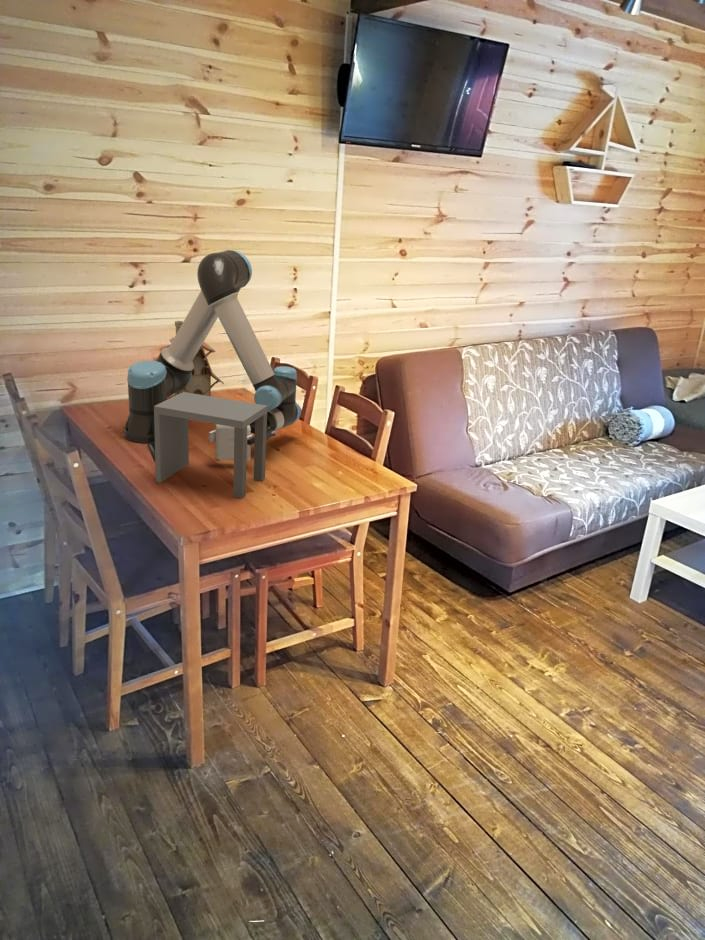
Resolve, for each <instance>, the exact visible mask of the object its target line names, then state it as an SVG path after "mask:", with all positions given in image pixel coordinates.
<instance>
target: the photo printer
mask: <svg viewBox="0 0 705 940" xmlns="http://www.w3.org/2000/svg"><path fill="white" fill-rule="evenodd" d="M215 430H216V440H215V458H216V460H224V461H234V427H230V426H224V425H218V424H215ZM251 434H252V433H251V429H250V425H248V426H247V436H249V435H251ZM250 460H251V445H249V446H247V459H246V462H248V461H250Z"/></svg>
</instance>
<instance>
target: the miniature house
mask: <svg viewBox="0 0 705 940" xmlns="http://www.w3.org/2000/svg"><path fill="white" fill-rule="evenodd" d="M183 322H184V320H174V327H175V335H176V334H177V332H178V331H179V329H180V327H181V325H182V323H183ZM174 338H175V337H173V338H171V339H169V342H170V344H171V343H172V341H173V339H174ZM205 350H206V351H207V353H206V351H205ZM211 353H213V354H214V353H216V350H215V349H214V348H213V347H211V346H210V345H209V344H208V343H207V342H206V341H204V342H203V344H202V345H201V347H200V349H199V351H198V352H197V354H196V356H195V357H194V359H193V364H194V368H193V370H192V376H191V380H190V382H189V384H188V385H187V386H186V387H185V388H184V389H183V390H181V391H179V392H177V393H174V394H172V397H174V396H176V395H178V394H180V393H182V392H187V393H193V394H199V395H205V396H212V395H211V393H212V391H211V390H212V388H213V387H214V386H216V384H218V383H221V384H222V385H224V382H223V381H222V380H221V379H220V377H218V376H217V375H216V374H215V373H214V372H213V370H212V367H211V365H210V362H209V360H208V356H209V355H211ZM211 377H212V378H213V379H214V380H215V381H214V382H213V383H211V382H212V378H211Z"/></svg>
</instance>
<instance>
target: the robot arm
mask: <svg viewBox="0 0 705 940" xmlns="http://www.w3.org/2000/svg"><path fill="white" fill-rule="evenodd" d="M196 273H197V274H196V275H197V281H198V285H199V288H200V292H199V293H198V295H197V297H196V298H195V301H194V302H193V304H192V306H191V308H190V310H189V311H188V312H187V315H186V316H185V318H184V320H183V323H182V325H181V327H180V329H179V331H178V332H177V334H176V333H175V336H174V337H173V338H174V339H173V338H172V339H173V341H172V343H171V342H170V345H169V347H164V348H162V349H161V351H160V352H159V355H158V356H157V358H156V360H143V361H138V362H135V363H133V364H132V365H130V366H129V368H128V370H127V379H126V381H127V390H128V392H127V395H128V416H127V419H126V422H125V426H124V429H123V432H124V437H125V439H127V440H128V441H131V442H134V443H140V444H148V443H153V442H155V429H154V406H155V405H157V404H160V403H162V402H164V401H166V400H167V398H168V397H170V396H173V395H175V393H177V392H179V391H181V390H183V389H184V388H185V387H186V386H187V385H188V384H189V382H190V380H191V376H192V370H193V368H194V364H193V359H194V357H195V356H196V354H197V352H198V351H199V349H200V347H201V345H202V344H203V342H205V341H206V338H207V337H208V335H209V333H210V332H211V330H212V328H213V327H214V325H215V323H216V321H217V320H218V319H219V321H220V323H221V325H222V327H223V329H224V332H225V333H226V335H227V337H228V339H229V341H230V343H231V345H232V348H233V349H234V351H235V354H236V355H237V356H238V359H239V360H240V361H239V362H240V363H241V365H242V367H243V370H244V371H245V373H246V375H247V377H248V378H249V380H250V383H251V384H252V387H253V388H254V392H255V393H254V398H253V399H254V404H261V405H267V433H266V443H267V442H268V441H269V440H270V439H271V438H272V437H275V436H276V432H277V431H279V430H281V429H283V428H284V429H285V428H286V427H288V426H291V425H293V424H294V423H296V422H297V421H298V420H299V419H300V417H301V415H302V413H301V412H302V411H301V408H300V405H299V404H298V403H297V402H296V400H297V399H296V397H297V382H298V377H297V375H298V374H297V370H296V369H295V368H294V367H291V366H281V365H280V366H276V367H275V368H272V366H271V365H270V362H269V360H268V358H267V356H266V354H265V352H264V350H263V348H262V346H261V344H260V342H259V339H258V338H257V335H256V333H255V331H254V329H253V328H252V326H251V324H250V321H249V319H248V317H247V315H246V313H245V310H244V309H243V307H242V305H241V303H240V301H239V299H238V295H239V292H240V291H241V289H242V288H245V287H246V286H247V285H248V283H249V282H250V281H251V278H252V275H253V269H252V265H251V261H250V260H249V258H248V257H247V256H246V255H245V254H243V253H242V252H240V251H237V250H231V249H227V250H224V251H220V252H219V251H218V252H213V253H209V254H207V255H206V256H204V257H203V258H202V259H201V261H200V263H199V264H198V267H197V272H196ZM250 429H251V435H249V436H247V446H249V445H250V446H253V445H254V444H255V421H254V422H253V423H251V424H250ZM213 441H216V429H213V430H211V431H209V432H208V442H213Z"/></svg>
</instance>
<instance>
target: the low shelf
mask: <svg viewBox="0 0 705 940" xmlns="http://www.w3.org/2000/svg"><path fill="white" fill-rule="evenodd" d="M190 420H191V421H196V422H203V423H209V424H214V425H217V424H218V425H224V426H230V427H234V460H233V486H232V487H233V497H232V498H235V497H238V498H237V499H240V498H242V499H244V496H245V495H247V494H246V493H247V461H246V459H247V426H248V425H250V424H251V423H253V422H254V421H255V443H254V444H253V445H254V448H253V450H254V452H253V453H254V455H253V480H254V481H258V482H263V481H264V480H265V479H266V459H267V456H266V455H267V442H266V433H267V405H261V404H256V403H255V402H246V401H242V400H235V399H230V398H229V399H228V398H222V397H217V396H212V395H211V396H205V395H199V394H193V393H187V392H182V393H180V394H178V395H176V396H174V397H173V396H172V397H170V398H168V399H166V401H164V402H162V403H160V404H157V405H155V406H154V429H155V461H154V463H155V483H159V484H160V483H163V482H164V481H166V480H168V479H169V478H171V476H173V475H174V474H176V473H177V472H179V471H181V470H182V469H184V468H185V467H187V466H188V465H189V464H190V463H189V462H190V461H189V459H190V457H189V456H190V455H189V454H190V453H189V450H190V449H189V445H190V444H189V440H190V439H189V438H190V437H189V421H190ZM245 497H246V496H245Z"/></svg>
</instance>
